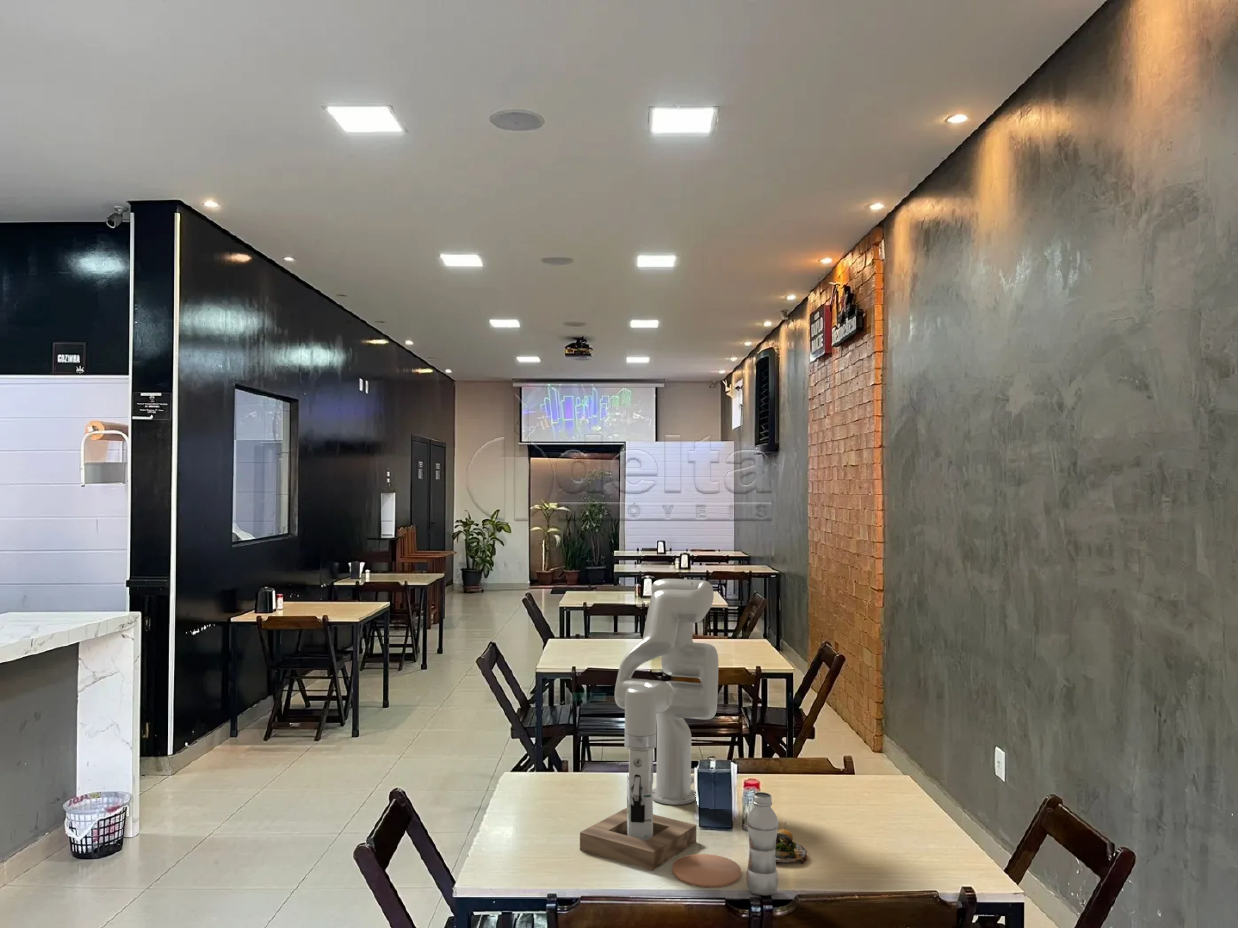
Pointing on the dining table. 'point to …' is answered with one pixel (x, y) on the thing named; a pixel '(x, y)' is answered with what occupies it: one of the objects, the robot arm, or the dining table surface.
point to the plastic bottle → (762, 846)
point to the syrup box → (646, 828)
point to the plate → (706, 870)
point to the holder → (638, 840)
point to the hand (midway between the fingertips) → (639, 815)
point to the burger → (788, 848)
